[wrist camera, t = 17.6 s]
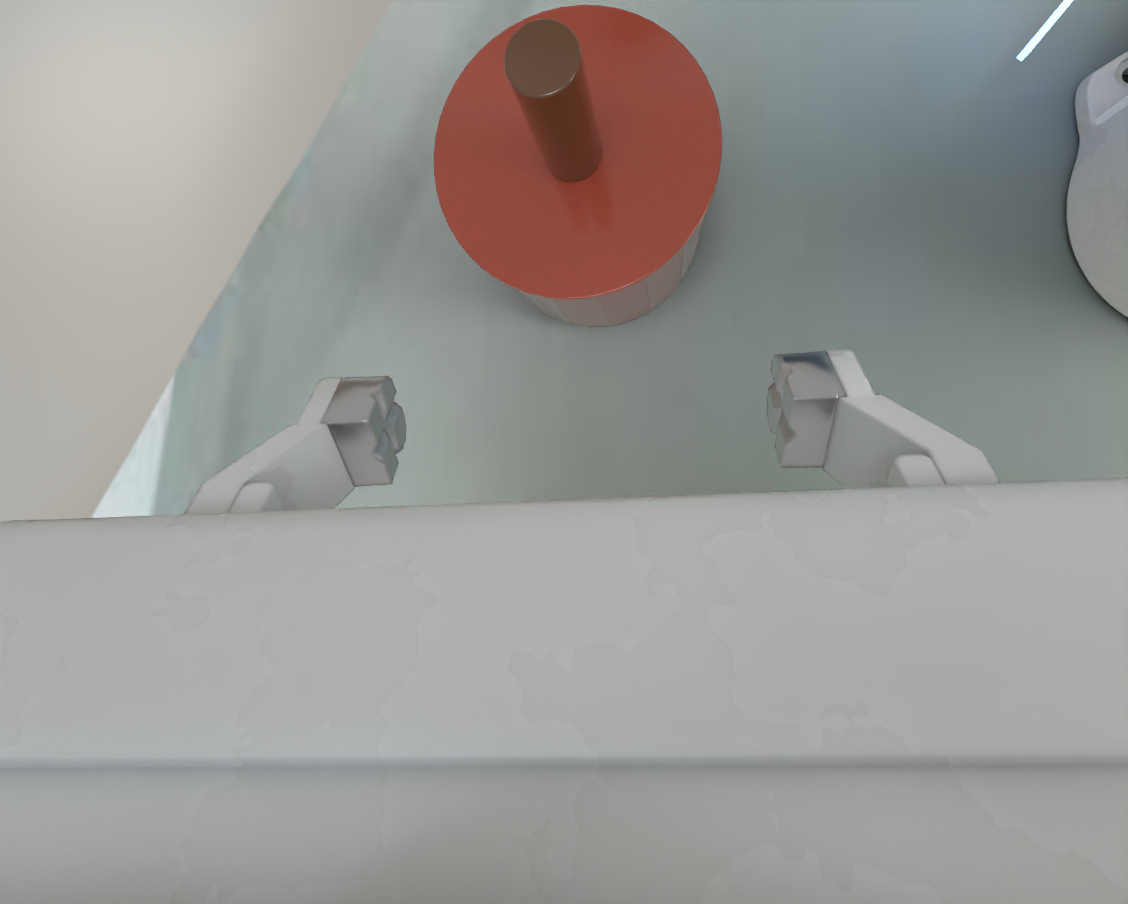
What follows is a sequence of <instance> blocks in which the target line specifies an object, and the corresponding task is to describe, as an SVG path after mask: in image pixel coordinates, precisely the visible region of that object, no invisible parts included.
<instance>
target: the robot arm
mask: <svg viewBox="0 0 1128 904" xmlns="http://www.w3.org/2000/svg"><path fill="white" fill-rule="evenodd" d="M1072 1H1073V0H1064V1H1063V2H1062V3H1061V5H1060V6H1059V7H1058V8H1057V10H1056V11H1055V12H1054V13H1053V14H1052V16H1051V17H1050V18H1049V19H1048V20H1047V22H1046V23H1045V24H1044V25H1043V26H1042V28H1041V29H1040V30H1039V31H1038V32H1037V34H1036V35H1035V36H1034V37H1033V38H1032V40H1031V41H1030V42H1029V43H1028V44H1027V46H1026V47H1025V48H1024V49H1023V50H1022V52H1021V53H1020V54H1019V55H1018V56H1017V59H1019V60H1020V61H1022V60H1023V59H1024V58H1025V57H1026V56H1027V55H1028V54H1029V53H1030V52H1031V51H1032V49H1033V48H1034V47H1035V46H1036V45H1037V43H1038V42H1039V41H1040V40H1041V39H1042V37H1043V36H1044V35H1045V34H1046V33H1047V31H1048V30H1049V29H1050V28H1051V27H1052V25H1053V24H1054V23H1055V22H1056V21H1057V19H1058V18H1059V17H1060V16H1061V15H1062V13H1063V12H1064V11H1065V10H1066V9H1067V7H1068V6H1069V5H1070V4H1071V3H1072ZM1122 74H1125V75H1127V76H1128V51H1127V52H1125V53H1124V54H1122V55H1120V56H1119V57H1117V58H1116V59H1114V60H1112V61H1111V62H1109V63H1107V64H1106V65H1104V66H1103V67H1101V68H1099V69H1098V70H1096V71H1095V72H1093V73H1092V74H1090V75H1089V76H1087V77H1086V78H1085V79H1084V80H1083V81H1082V82H1081V83H1080V85H1079V86H1078V88H1077V91H1076V96H1075V112H1076V120H1077V126H1078V132H1079V137H1080V143H1079V150H1078V154H1077V158H1076V162H1075V165H1074V168H1073V172H1072V175H1071V179H1070V183H1069V188H1068V195H1067V207H1066V213H1067V227H1068V233H1069V238H1070V242H1071V246H1072V249H1073V252H1074V254H1075V257H1076V259H1077V261H1078V264H1079V266H1080V268H1081V269H1082V271H1083V273H1084V275H1085V276H1086V278H1087V279H1088V281H1089V282H1090V284H1091V285H1092V286H1093V287H1094V289H1095V290H1096V291H1097V292H1098V293H1099V294H1100V295H1101V296H1102V298H1103V299H1104V300H1106V301H1107V302H1108V303H1109V304H1110V305H1111V306H1112V307H1114V308H1115V309H1116V310H1117V311H1119V312H1120V313H1122V314H1123V315H1124V316H1126V317H1127V318H1128V83H1126V82H1124V81H1123V79H1122ZM771 374H772V377H773V381H774V383H773V384H772V385H771V386H770V387H769V388H768V395H767V418H768V424H769V428H770V431H771V432H772V433H773V434H775V435H776V440H775V449H776V452H777V455H778V459H779V462H780V465H781V468H801V467H823V469H824V470H825V471H826V472H827V473H828V474H829V475H831V476H832V477H833V478H834V479H835V480H836V481H837V482H838V483H840V484H841V485H842V486H843V487H844V488H845V489H829V490H803V491H777V492H752V493H726V494H701V495H675V496H649V497H624V498H598V499H572V500H547V501H521V502H495V503H469V504H443V505H417V506H392V507H366V508H340V509H335V508H336V507H337V506H338V505H339V504H340V503H341V502H342V501H343V500H344V499H345V498H346V497H347V496H348V495H349V494H350V493H351V492H352V491H353V490H354V487H357V486H372V485H386V484H392V482H393V479H394V476H395V473H396V470H397V466H398V463H399V462H398V460H397V457H396V454H397V453H398V452H400V451H401V450H402V449H403V447H404V444H405V440H406V422H405V416H404V413H403V410H402V407H400V406H399V405H398V404H397V403H395V402H394V401H393V400H394V397H395V394H396V389H395V386H394V384H393V381H392V379H391V378H390V377H388V376H374V377H346V378H327V379H321V380H319V381H318V382H317V384H316V386H315V388H314V390H313V392H312V394H311V396H310V398H309V400H308V402H307V404H306V406H305V408H304V410H303V412H302V414H301V416H300V418H299V420H298V422H297V423H296V425H289V426H287V427H286V428H284V429H283V430H281V431H280V432H278V433H277V434H275V435H274V436H272V437H271V438H269V439H268V440H266V441H265V442H263V443H262V444H260V445H259V446H257V447H256V448H254V449H253V450H251V451H250V452H248V453H247V454H245V455H244V456H242V457H241V458H239V459H238V460H236V461H235V462H233V463H232V464H230V465H229V466H227V467H226V468H224V469H223V470H221V471H220V472H218V473H217V474H215V475H214V476H212V477H211V478H209V479H208V480H206V481H205V482H203V483H202V484H201V486H200V488H199V489H198V491H197V493H196V494H195V496H194V498H193V499H192V501H191V503H190V504H189V506H188V507H187V509H186V511H185V512H184V514H183V515H160V516H134V517H109V518H83V519H60V520H58V519H57V520H14V521H5V522H0V904H1128V478H1113V479H1089V480H1065V481H1040V482H1014V483H1001V482H1000V481H999V479H998V477H997V476H996V474H995V473H994V471H993V469H992V468H991V466H990V464H989V463H988V461H987V459H986V458H985V456H984V455H983V453H982V451H981V450H980V449H978V448H976V447H974V446H972V445H971V444H969V443H967V442H965V441H963V440H962V439H960V438H958V437H956V436H955V435H953V434H951V433H949V432H947V431H946V430H944V429H942V428H940V427H938V426H937V425H935V424H933V423H931V422H929V421H928V420H926V419H924V418H922V417H921V416H919V415H917V414H915V413H913V412H912V411H910V410H908V409H906V408H904V407H903V406H901V405H899V404H897V403H895V402H894V401H892V400H890V399H888V398H887V397H885V396H883V395H875V394H874V392H873V390H872V388H871V386H870V384H869V382H868V380H867V378H866V376H865V374H864V372H863V370H862V368H861V366H860V364H859V362H858V360H857V358H856V356H855V354H854V352H853V351H852V350H851V349H837V350H826V351H820V352H806V353H791V354H777V355H774V357H773V360H772V365H771Z"/></svg>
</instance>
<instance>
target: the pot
mask: <svg viewBox="0 0 1128 904" xmlns="http://www.w3.org/2000/svg"><path fill="white" fill-rule="evenodd" d="M701 224H702V222H701ZM701 224H700V225H699V227H698V229H697V231H696V232H695V234H694V235H693V236H692V238H691V239H690V240H689V242H688V243H687V244H686V246H685V247H684V248H683V249H682V250H681V251H680V252H679V253H678V254H677V255H676V256H675V258H674V259H673V260H672V261H671V262H669V263H668V264H667V265H666V266H664V267H663V268H662V269H661V270H660V271H658V272H657V273H656V274H654V275H653V276H651V277H649V278H648V279H646V280H645V281H643V282H642V283H640V284H638V285H636V286H634V287H631V288H629V289H627V290H625V291H623V292H620V293H617V294H613V295H610V296H607V297H604V298H598V299H592V300H587V301H556V300H547V299H543V298H539V297H534V296H530V295H528V294H525V293H523V294H524V295H525V296H526V297H527V298H528V299H529V300H530V301H531V302H532V303H533V304H534V305H535V306H536V307H537V308H538V309H539V310H541V311H543V312H546V313H548V314H550V315H551V316H553V317H555V318H557V319H560V320H562V321H565V322H567V323H570V324H572V325H579V326H588V327H607V326H614V325H618V324H622V323H625V322H629V321H632V320H634V319H636V318H638V317H640V316H643V315H645V314H646V313H648V312H649V311H651V310H653V309H654V308H656V307H657V306H658V305H659V304H660V303H662V302H663V301H664V300H665V299H666V298H667V297H668V296H669V295H670V294H671V293H672V292H673V291H674V290H675V288H676V287H677V286H678V285H679V284H680V283H681V281H682V279H683V277H684V275H685V274H686V272H687V270H688V268H689V266H690V263H691V261H692V258H693V256H694V254H695V252H696V250H697V247H698V243H699V236H700V230H701Z"/></svg>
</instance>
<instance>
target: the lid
mask: <svg viewBox="0 0 1128 904" xmlns="http://www.w3.org/2000/svg"><path fill="white" fill-rule="evenodd" d="M721 155H722V130H721V123H720V116H719V111H718V107H717V104H716V100H715V97H714V93H713V91H712V89H711V87H710V84H709V82H708V80H707V78H706V76H705V74H704V72H703V71H702V69H701V68H700V66H699V64H698V63H697V61H696V60H695V58H694V57H693V56H692V55H691V54H690V52H689V51H688V50H687V49H686V48H685V47H684V45H683V44H681V43H680V42H679V41H678V40H677V39H676V38H675V37H674V36H672V35H671V34H670V33H669V32H668V31H666V30H665V29H663V28H661V27H660V26H658V25H657V24H655V23H654V22H652V21H650V20H648V19H646V18H644V17H641V16H639V15H637V14H634V13H631V12H628V11H625V10H622V9H618V8H612V7H606V6H600V5H577V6H568V7H560V8H556V9H552V10H548V11H544V12H541V13H539V14H536V15H533V16H531V17H528V18H526V19H524V20H522V21H520V22H518V23H516V24H515V25H513V26H511V27H509V28H507V29H506V30H505V31H503V32H502V33H500V34H499V35H498V36H496V37H495V38H493V39H492V40H491V41H490V42H489V43H488V44H487V45H486V46H485V47H483V48H482V49H481V50H480V51H479V52H478V53H477V54H476V56H475V57H474V58H473V59H472V60H471V61H470V63H469V64H468V65H467V66H466V67H465V69H464V70H463V72H462V73H461V75H460V76H459V78H458V79H457V81H456V82H455V84H454V86H453V88H452V90H451V92H450V94H449V96H448V98H447V100H446V103H445V106H444V108H443V111H442V114H441V116H440V120H439V125H438V129H437V133H436V139H435V148H434V176H435V183H436V190H437V194H438V198H439V202H440V205H441V209H442V211H443V214H444V216H445V218H446V221H447V223H448V225H449V227H450V229H451V231H452V232H453V234H454V236H455V237H456V239H457V241H458V242H459V244H460V245H461V246H462V247H463V249H464V250H465V251H466V252H467V254H468V255H469V256H470V257H471V258H472V259H473V260H474V261H475V262H476V263H477V264H478V265H479V266H480V267H481V268H482V269H483V270H485V271H486V272H487V273H489V274H490V275H491V276H493V277H494V278H495V279H497V280H498V281H500V282H502V283H503V284H505V285H507V286H509V287H511V288H513V289H514V290H517V291H520V292H522V293H525V294H528V295H530V296H534V297H539V298H543V299H547V300H556V301H587V300H592V299H598V298H604V297H607V296H610V295H613V294H617V293H620V292H623V291H625V290H627V289H629V288H631V287H634V286H636V285H638V284H640V283H642V282H643V281H645V280H646V279H648V278H649V277H651V276H653V275H654V274H656V273H657V272H658V271H660V270H661V269H662V268H663V267H664V266H666V265H667V264H668V263H669V262H671V261H672V260H673V259H674V258H675V256H676V255H677V254H678V253H679V252H680V251H681V250H682V249H683V248H684V247H685V246H686V244H687V243H688V242H689V240H690V239H691V238H692V236H693V235H694V234H695V232H696V231H697V229H698V227H699V225H700V224H701V222H702V220H703V218H704V217H705V215H706V213H707V210H708V208H709V205H710V203H711V200H712V198H713V195H714V192H715V188H716V184H717V180H718V176H719V171H720V163H721Z"/></svg>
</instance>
